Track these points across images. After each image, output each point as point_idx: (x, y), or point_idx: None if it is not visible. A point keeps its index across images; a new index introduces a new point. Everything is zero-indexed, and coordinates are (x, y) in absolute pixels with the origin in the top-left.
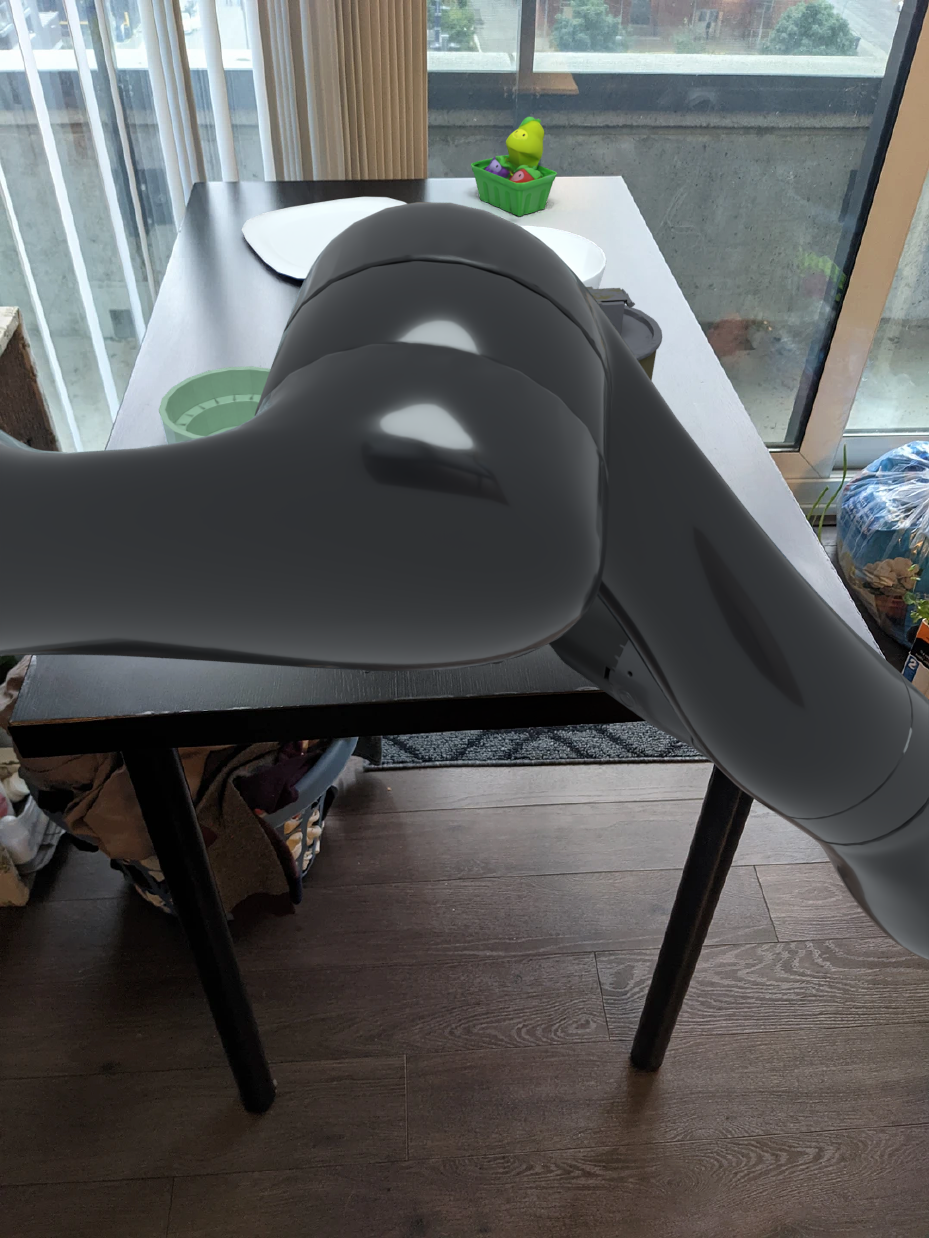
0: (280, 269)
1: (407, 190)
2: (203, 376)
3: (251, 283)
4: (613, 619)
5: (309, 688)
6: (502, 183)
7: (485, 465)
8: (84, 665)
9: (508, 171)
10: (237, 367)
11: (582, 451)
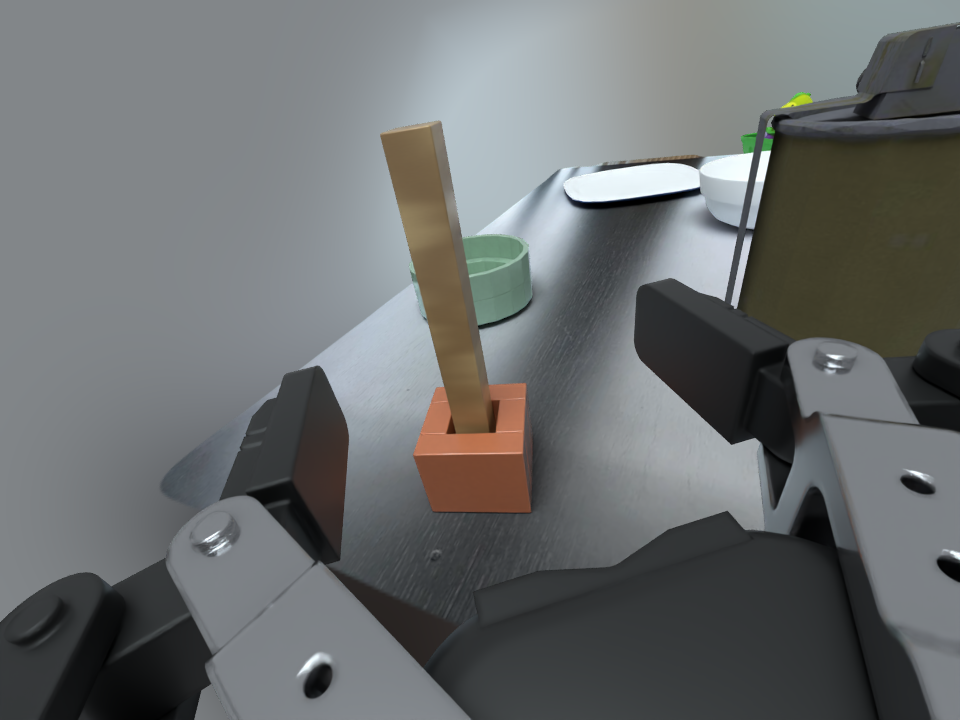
0: (575, 197)
1: (688, 162)
2: (462, 239)
3: (555, 207)
4: None
5: (359, 555)
6: (766, 143)
7: None
8: (230, 448)
9: (773, 136)
10: (489, 234)
11: None
